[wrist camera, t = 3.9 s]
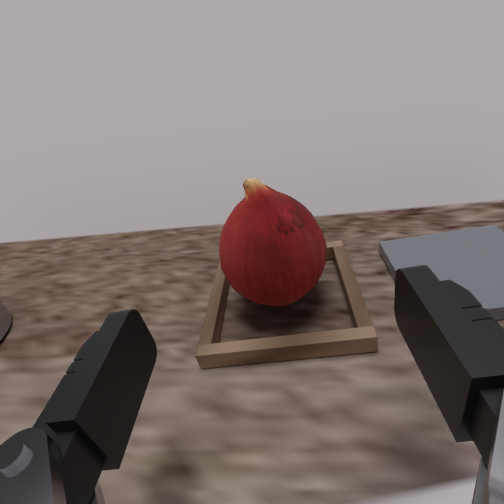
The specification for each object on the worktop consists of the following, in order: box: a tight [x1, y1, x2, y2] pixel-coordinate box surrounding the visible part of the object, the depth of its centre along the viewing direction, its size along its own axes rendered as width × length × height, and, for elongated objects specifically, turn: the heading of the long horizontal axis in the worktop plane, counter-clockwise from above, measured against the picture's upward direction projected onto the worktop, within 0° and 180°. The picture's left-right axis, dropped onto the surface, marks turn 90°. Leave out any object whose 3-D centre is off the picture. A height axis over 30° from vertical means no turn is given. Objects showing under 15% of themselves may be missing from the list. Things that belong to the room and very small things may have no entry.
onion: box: [219, 178, 327, 307], centre depth 17 cm, size 6×6×8 cm
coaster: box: [379, 225, 504, 320], centre depth 18 cm, size 7×7×1 cm
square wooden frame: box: [196, 240, 377, 369], centre depth 19 cm, size 9×9×1 cm
